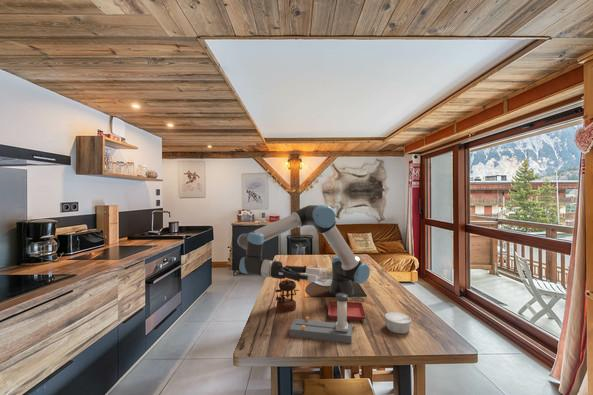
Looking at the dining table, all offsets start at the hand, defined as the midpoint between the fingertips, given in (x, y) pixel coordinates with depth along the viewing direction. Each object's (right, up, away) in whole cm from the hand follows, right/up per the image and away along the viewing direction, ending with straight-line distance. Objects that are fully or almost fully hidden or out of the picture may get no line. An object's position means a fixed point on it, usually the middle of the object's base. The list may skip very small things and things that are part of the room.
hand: (317, 275), depth 114 cm
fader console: (+1, -25, -3) cm, 25 cm away
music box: (-14, -26, +25) cm, 39 cm away
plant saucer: (+16, -26, +17) cm, 35 cm away
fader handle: (+10, -21, -5) cm, 24 cm away
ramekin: (+36, -25, +2) cm, 44 cm away
